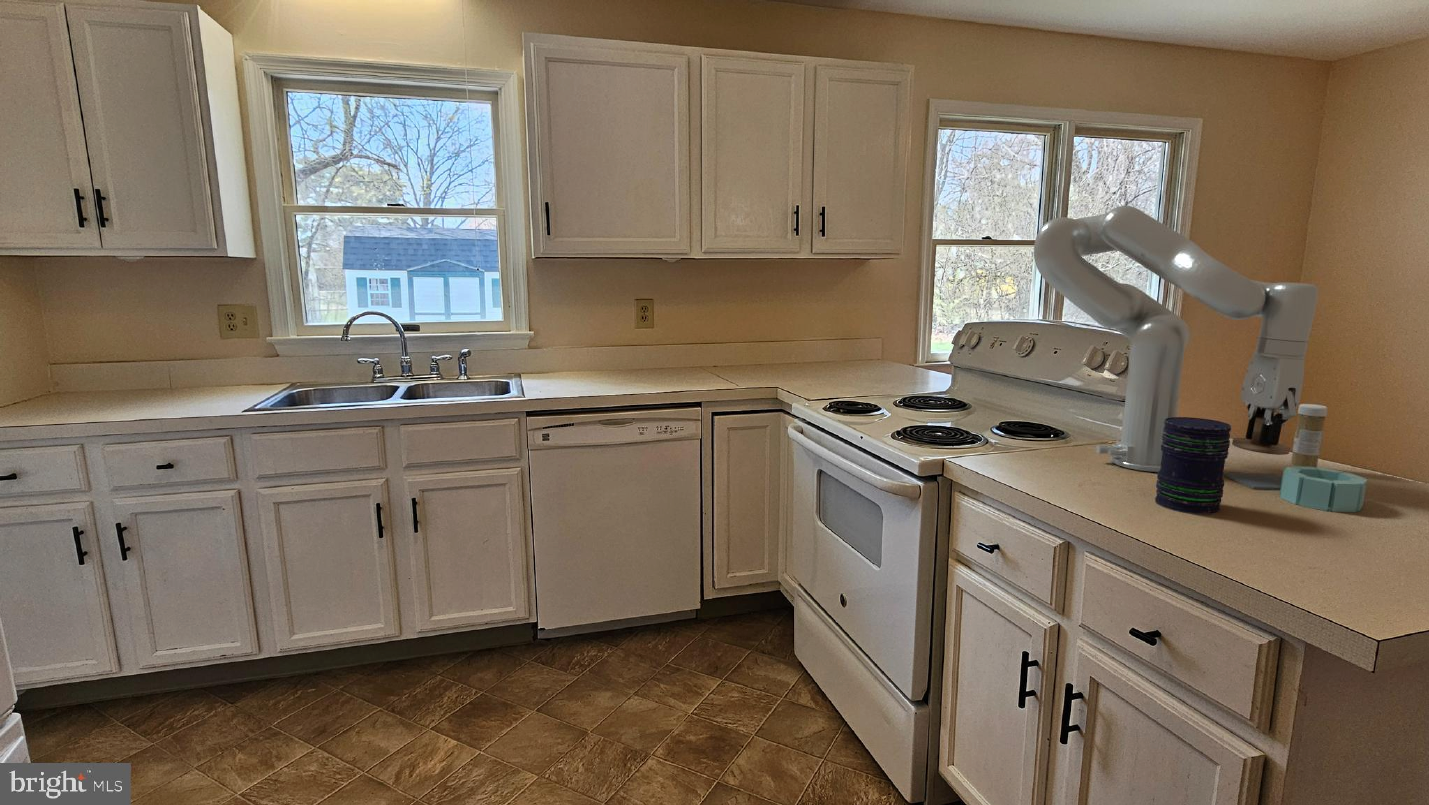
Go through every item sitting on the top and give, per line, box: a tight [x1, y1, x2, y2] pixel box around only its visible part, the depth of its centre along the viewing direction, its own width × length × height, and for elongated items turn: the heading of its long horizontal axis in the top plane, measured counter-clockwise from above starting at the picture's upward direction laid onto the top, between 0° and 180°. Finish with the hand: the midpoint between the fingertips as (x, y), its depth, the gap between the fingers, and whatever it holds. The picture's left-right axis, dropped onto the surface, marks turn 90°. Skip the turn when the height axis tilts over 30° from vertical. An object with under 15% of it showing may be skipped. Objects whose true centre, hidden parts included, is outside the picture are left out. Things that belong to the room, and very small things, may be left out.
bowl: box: [1279, 466, 1368, 513], centre depth 128 cm, size 11×11×5 cm
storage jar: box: [1154, 416, 1232, 515], centre depth 125 cm, size 10×10×15 cm
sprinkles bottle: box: [1289, 403, 1328, 468], centre depth 148 cm, size 5×5×13 cm
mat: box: [1223, 471, 1282, 491], centre depth 140 cm, size 10×10×1 cm
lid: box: [1231, 417, 1291, 456], centre depth 139 cm, size 9×9×6 cm
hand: (1261, 441), depth 139 cm, fingers closed on lid, 3 cm apart
